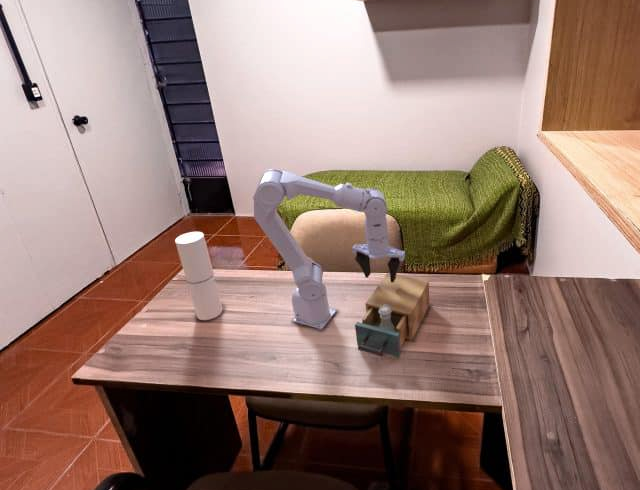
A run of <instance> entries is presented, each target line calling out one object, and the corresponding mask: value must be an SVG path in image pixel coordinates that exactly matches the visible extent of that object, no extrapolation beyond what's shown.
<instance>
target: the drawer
mask: <svg viewBox="0 0 640 490" xmlns="http://www.w3.org/2000/svg"><path fill="white" fill-rule="evenodd" d="M390 314H391V317H390V318H391V322H392V323H393V325H394V326H395V332H394V331H391V330H387V329H383V328H379V325H380V323H381V318H380V313H379V309H378V308H373V307H371V308H370V309H369V310H368V312H367V313H366V312H365V315H364V316H363V317H362V318H361V322H360V321H356V323H355V324H354V328H355V329H354V330H355V337H356V343H357V344H356V345H357V350H358V351H361V352H363V353H368V354H372V355H375V356H379V357H383V355H384V354H385V355H389V356H392V357H395V358H400V357H401V355H402V350H401V349H402V346H403V345H404V342H405V341H406V339H405V338H406V337H407V335H408V333H409V325H408V316H407V315H403V314H399V313H394V312H391V313H390Z"/></svg>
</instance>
